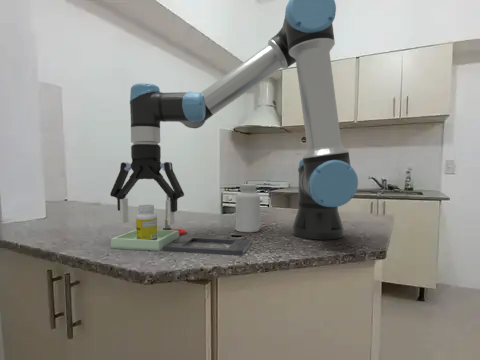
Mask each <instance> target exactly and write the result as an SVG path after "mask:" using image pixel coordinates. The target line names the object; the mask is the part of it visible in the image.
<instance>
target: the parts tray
mask: <svg viewBox="0 0 480 360" xmlns="http://www.w3.org/2000/svg"><path fill="white" fill-rule="evenodd" d="M178 238H180V235H179V231H177V230H163V229H157V240H144V239H137V234H136V228H135V229H133V230H130V231H127V232H125V233H123V234H120V235H116V236H114V237H111V238H110V249H112V250H114V249H117V250H134V251H148V250H150V251H151V252H153V251H154V252H159V251H161V250H163V247H164V246H166V245H167V244H169V243H171V242H173V241H174V240H176V239H178Z"/></svg>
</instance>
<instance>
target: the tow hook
mask: <svg viewBox="0 0 480 360" xmlns="http://www.w3.org/2000/svg"><path fill="white" fill-rule="evenodd" d="M169 199H170V198H169V197H168V195H167V194H166V200H165V219H164V227H163V229H162V230H177V231H179V236H184V235H185V234H187V230H186V229H183V228H172V227H171V225H168V219H167V200H169Z"/></svg>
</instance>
